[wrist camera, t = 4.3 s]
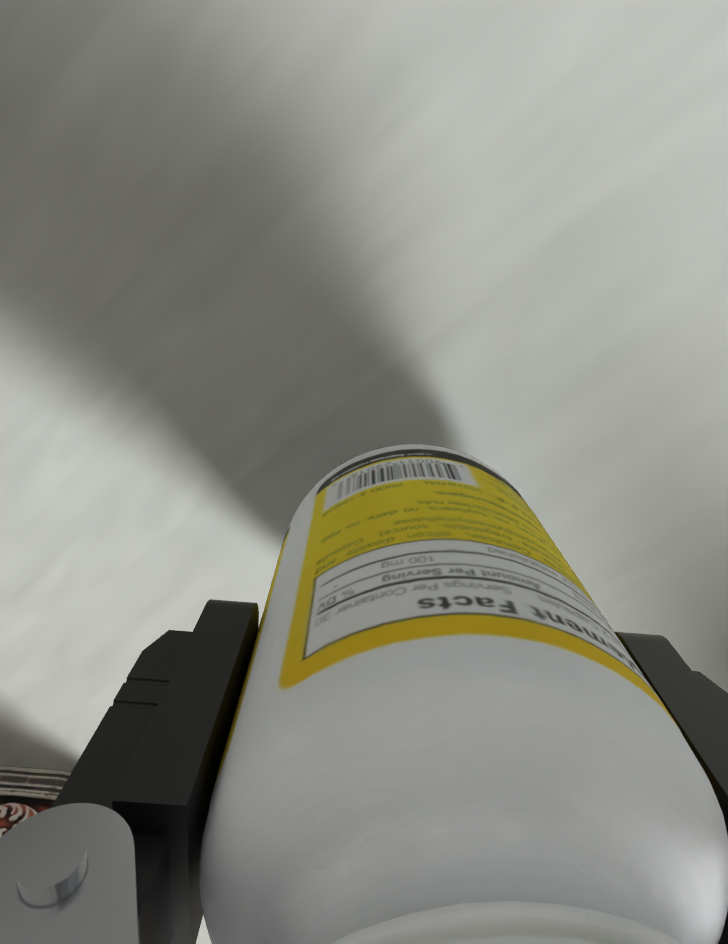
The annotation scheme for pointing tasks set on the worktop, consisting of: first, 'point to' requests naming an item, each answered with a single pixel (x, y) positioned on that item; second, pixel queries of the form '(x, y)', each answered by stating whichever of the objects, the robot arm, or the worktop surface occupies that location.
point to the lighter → (27, 793)
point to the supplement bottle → (449, 738)
